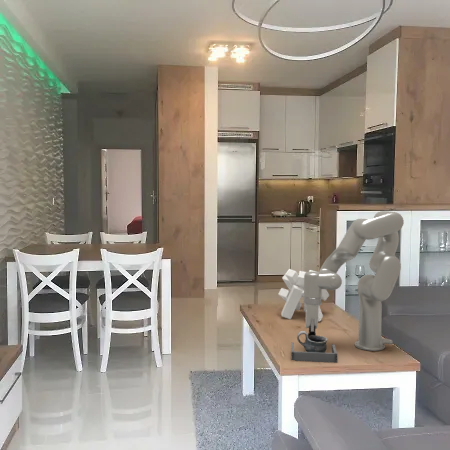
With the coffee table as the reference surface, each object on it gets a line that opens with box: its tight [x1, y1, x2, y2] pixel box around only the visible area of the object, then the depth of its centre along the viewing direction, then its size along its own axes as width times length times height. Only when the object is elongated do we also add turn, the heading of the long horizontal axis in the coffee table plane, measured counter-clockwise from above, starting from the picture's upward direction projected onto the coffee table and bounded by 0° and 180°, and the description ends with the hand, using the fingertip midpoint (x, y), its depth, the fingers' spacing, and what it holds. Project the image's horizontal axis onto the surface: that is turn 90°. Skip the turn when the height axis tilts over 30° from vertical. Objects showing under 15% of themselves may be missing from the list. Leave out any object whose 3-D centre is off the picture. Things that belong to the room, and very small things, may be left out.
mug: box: [296, 330, 328, 353], centre depth 203 cm, size 10×12×10 cm
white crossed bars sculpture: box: [277, 268, 330, 322], centre depth 268 cm, size 35×30×35 cm
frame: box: [290, 342, 338, 364], centre depth 202 cm, size 18×13×4 cm
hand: (311, 342), depth 211 cm, fingers closed
